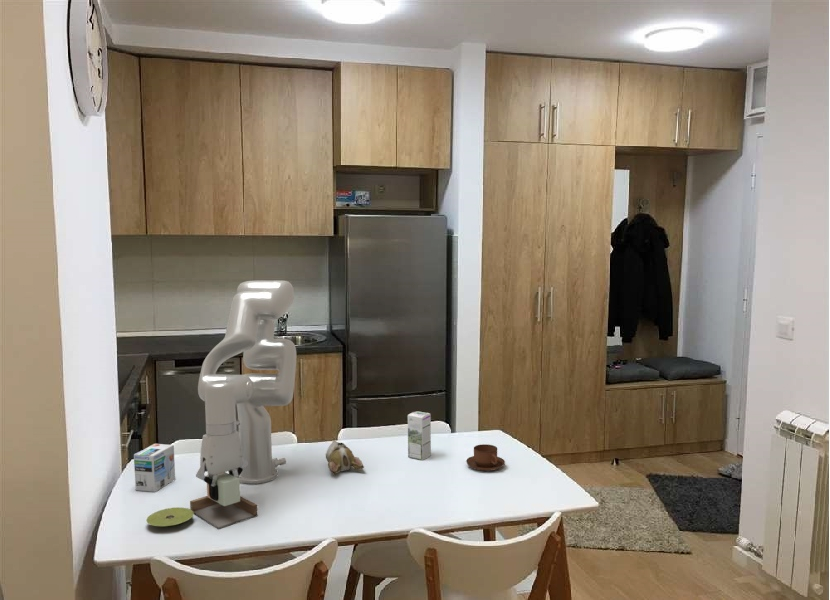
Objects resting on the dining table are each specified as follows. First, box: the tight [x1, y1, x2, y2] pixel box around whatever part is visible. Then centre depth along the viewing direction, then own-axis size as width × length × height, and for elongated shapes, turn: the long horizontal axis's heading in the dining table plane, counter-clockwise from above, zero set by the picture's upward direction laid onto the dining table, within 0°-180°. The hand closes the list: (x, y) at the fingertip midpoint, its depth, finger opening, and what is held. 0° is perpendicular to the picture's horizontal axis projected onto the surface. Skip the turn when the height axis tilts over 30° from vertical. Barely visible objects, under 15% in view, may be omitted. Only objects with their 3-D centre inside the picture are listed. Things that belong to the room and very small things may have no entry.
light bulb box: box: [133, 443, 176, 493], centre depth 192 cm, size 11×7×11 cm, turn 168°
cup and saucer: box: [465, 444, 506, 472], centre depth 205 cm, size 12×12×6 cm
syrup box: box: [407, 411, 432, 461], centre depth 215 cm, size 6×6×14 cm
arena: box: [189, 495, 258, 530], centre depth 172 cm, size 11×15×3 cm
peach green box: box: [206, 472, 241, 506], centre depth 172 cm, size 9×4×6 cm, turn 45°
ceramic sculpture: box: [325, 440, 365, 474], centre depth 204 cm, size 11×9×15 cm
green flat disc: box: [146, 506, 195, 527], centre depth 166 cm, size 11×11×2 cm
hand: (223, 495), depth 172 cm, fingers closed on peach green box, 4 cm apart
